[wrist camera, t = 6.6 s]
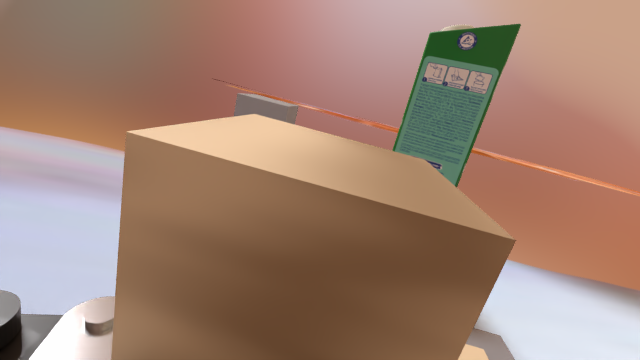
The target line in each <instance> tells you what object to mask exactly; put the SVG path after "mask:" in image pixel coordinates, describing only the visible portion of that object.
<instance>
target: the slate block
mask: <svg viewBox="0 0 640 360" xmlns="http://www.w3.org/2000/svg"><path fill="white" fill-rule="evenodd" d="M297 111H298V105H294V104H290V103H286V102H282V101H279V100H275V99H271V98H267V97H263V96H259V95H255V94H237V100H236V106H235V112H234V117H235V116H242V115H249V114H257V115H261V116H265V117H268V118H272V119H276V120H279V121H283V122H287V123H291V124H295V119H296V115H297Z"/></svg>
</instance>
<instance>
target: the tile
mask: <svg viewBox="0 0 640 360" xmlns="http://www.w3.org/2000/svg"><path fill="white" fill-rule="evenodd" d="M458 360H515V359H514V358H513V356H512V354H511V353H510V351H509V349H508V348H507V346H506V344H505V343H504V341H503V340H502V338H501V336H499V335H496V334H492V333H489V332H485V331H482V330H478V329H475V328H473V330H472V332H471V334H470V336H469V338H468V340H467V342H466V344H465V346H464V348H463V350H462V352H461V354H460V356H459V358H458Z"/></svg>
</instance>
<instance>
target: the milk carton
mask: <svg viewBox="0 0 640 360" xmlns="http://www.w3.org/2000/svg"><path fill="white" fill-rule="evenodd" d="M520 26H521V25H520V24H512V25H502V26H491V27H480V28H474V27H473V26H471V25H454V26H449V27H446V28H444V29H442V30H441V31H438V32H431V33H430V34H429V38H428V41H427V44H426V47H425V50H424V53H423V56H422V60H421V63H420V66H419V69H418V72H417V75H416V79H415V82H414V85H413V88H412V91H411V94H410V97H409V100H408V104H407V107H406V110H405V113H404V116H403V119H402V123H401V126H400V129H399V132H398V136H397V138H396V141H395V144H394V147H393V151H394V152H398V153H402V154H405V155H409V156H413V157H417V158H420V159H424V160H426V161H427V162H428V163H429V164H431V165H432V166H433V167H434V168H435V169H436V170H437V171H438V172H440V173H441V174H442V175H443V176H444V177H445V178H446V179H447V180H449V181H450V182H451V183H452V184H453V185H454V186H455V187H457V186H458V183H459V181H460V178H461V176H462V173H463V170H464V168H465V166H466V163H467V160H468V158H469V155H470V153H471V150H472V148H473V145H474V143H475V140H476V138H477V135H478V133H479V130H480V128H481V125H482V122H483V120H484V117H485V115H486V112H487V110H488V107H489V105H490V102H491V99H492V97H493V95H494V92H495V89H496V87H497V84H498V82H499V79H500V77H501V74H502V72H503V69H504V67H505V64H506V62H507V59H508V56H509V54H510V52H511V49H512V46H513V44H514V41H515V39H516V36H517V34H518V31H519V28H520Z"/></svg>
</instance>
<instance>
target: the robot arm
mask: <svg viewBox="0 0 640 360" xmlns="http://www.w3.org/2000/svg"><path fill="white" fill-rule="evenodd" d="M114 308H115V297H100V298H95V299H92V300H88V301H86V302H83V303H81V304H79V305H77V306H75V307H74V308H72V309H71V310H69V311H68V312H67V313H66V314H65V315H38V314H21V304H20V299H19V297H18V296H16V295H15V294H13V293H11V292H8V291H2V290H0V360H111V353H112V338H113V323H114Z"/></svg>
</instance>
